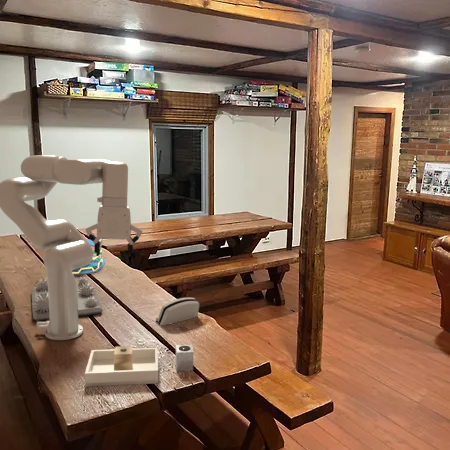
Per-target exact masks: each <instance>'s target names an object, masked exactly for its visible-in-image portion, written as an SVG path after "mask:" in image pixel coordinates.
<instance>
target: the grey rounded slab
mask: <svg viewBox="0 0 450 450" xmlns="http://www.w3.org/2000/svg"><path fill="white" fill-rule="evenodd" d="M199 309H200V303H199V301H198V300H197V299H196V298H195V297H180V298H177V299H174V300H172V301H169V302H166V303H164V304H163V305H162V307H161V309H160V312H159V315H158V317H156V318H155V321H158V322H157V323H160V324H159V325H160V326H161V325H164V326H167V325H166V324H168V325H171V324H170V323H172V324H175V323H178V321H179V322H182V320H183V321H186V320H190V319H194V318H197V316H199ZM193 317H194V318H193ZM174 322H175V323H174Z"/></svg>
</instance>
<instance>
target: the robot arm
mask: <svg viewBox="0 0 450 450" xmlns="http://www.w3.org/2000/svg"><path fill="white" fill-rule="evenodd" d="M128 166H129V165H128V164H127V163H125V162H122V161H121V162H120V161H112V160H108V159H104V158H89V159H88V158H87V159H68V158H67V157H65V156H61V155H53V154H50V155H49V154H47V155H46V154H45V155H44V154H43V155H42V154H39V155H36V154H35V155H30V156H27V157H25V159H23V160H22V162H21V164H20V171H21V173H22V175H23V176H21V177H11V178H7V179H5V180H2V181H1V182H0V209H1V210H2V212H3V213H4V214H5V216H6V217H8V218H9V219H10V220H11V221H12V222H13V223H14V224H15V225H16V226H17V227H18V229H19V230H20V231H21V232H22V233H23V235H24V236H25V237H26V238H27V239H28V240H29V242H30V243H31V245H32V246H34V247H35V248H36V249H38V250H40V251H41V250H42V251H43V250H47V251H46V252H45V253H44V256H43V265H44V268H45V273H46V278H47V280H48V297H49V320H45V321H36V328H38V330H44V331H45V332H44V336H45V337H46V338H47V339H48V340H52V341H69V340H73V339H75V338H77V337H80V336H81V335H82V334H83V333H84V326H83V325H81V324H79V323H80V322H79V316H78V286H77V284H78V280H77V278H76V277H75V275H73V273H72V270H75V269H77V268H80V267H83V266H86V265H88V264H89V263H90V262H91V261H92V259H93V257H94V255H93V249H94V252H95V253H96V255H95V257H97V256H98V257H99V254H100V241H99V240H100V239H102V240H105V239H106V240H122V241H123V240H126V241H127V242H128V245H127V257H128V258H131V256H132V255H133V253H134V250H133V249H134V244H135V243H137V241H138V240H139V239H140V237H141V236H142V234H143V230H142V229H140V228H138V227H137V226H135V225H133V224H132V221H131V211H130V210H131V209H130V206H129V205H128V191H129V190H128V189H129V187H128V186H129V185H128V183H129V182H128V181H129V167H128ZM58 183H59V184H65V185H74V186H75V185H76V186H82V185H83V186H84V185H92V184H102V196H101V197H97V203H100V204H101V205H100V206H99V208H98V210H97V211H98V212H97V213H98V214H97V221H96V223H95V224H93V225H91V226H89V227H86V228H85V232H86V235H87V236H88V238H89V240H92V241H93V243H94V244H95V246H94V247H92V246H90V244H89V243H88V242H87V240H86V238H85V237H84V236H83V235H82V233H81V232H80V231H79V230H78V229H77V227H75V225H74V224H73V223H71V222H70V221H69V220H66V219H64V218H58V219H52V220H48V219H47V218H45V217H44V216H43V215H42V213H41V212H40V211H39V210H38V209H36V208H35V207H33V206H32V205H30V204H28V203H27V202H30V201H38V200H41V199H44V198H46V197H47V196H48V195H49V194H50V192H51V191H52V190H53V189H54V187H56V185H57V184H58ZM95 230H96V236H95V235H94V233H93V232H92V231H95ZM132 231H133V232H135V233H136V235H135V236H134V237H132V236H131V232H132Z"/></svg>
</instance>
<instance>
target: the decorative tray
mask: <svg viewBox="0 0 450 450" xmlns="http://www.w3.org/2000/svg"><path fill="white" fill-rule="evenodd" d="M81 276H82V277H81ZM81 276H80V278H79V279H77V286H78V317H80V316H91V315H97V314H100V313H102V312H104V311H103V307H102V304H101V303H100V301H99V298H98V297H97V294H96V290H95V289H96V288H95V285H92V283H90V282H89V279H88V278H87V277H86V276H83V275H81ZM36 281H37V282H35V283H34V284H36V285H34V287H33V288H32V289H31V304H30V306H32V308H31V310H32V319H33V320H35V321H36V322H41V321H49V297H48V279H47V277H46V278H45V279H44V277H42V279H41V278H39V280H38V279H36Z"/></svg>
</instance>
